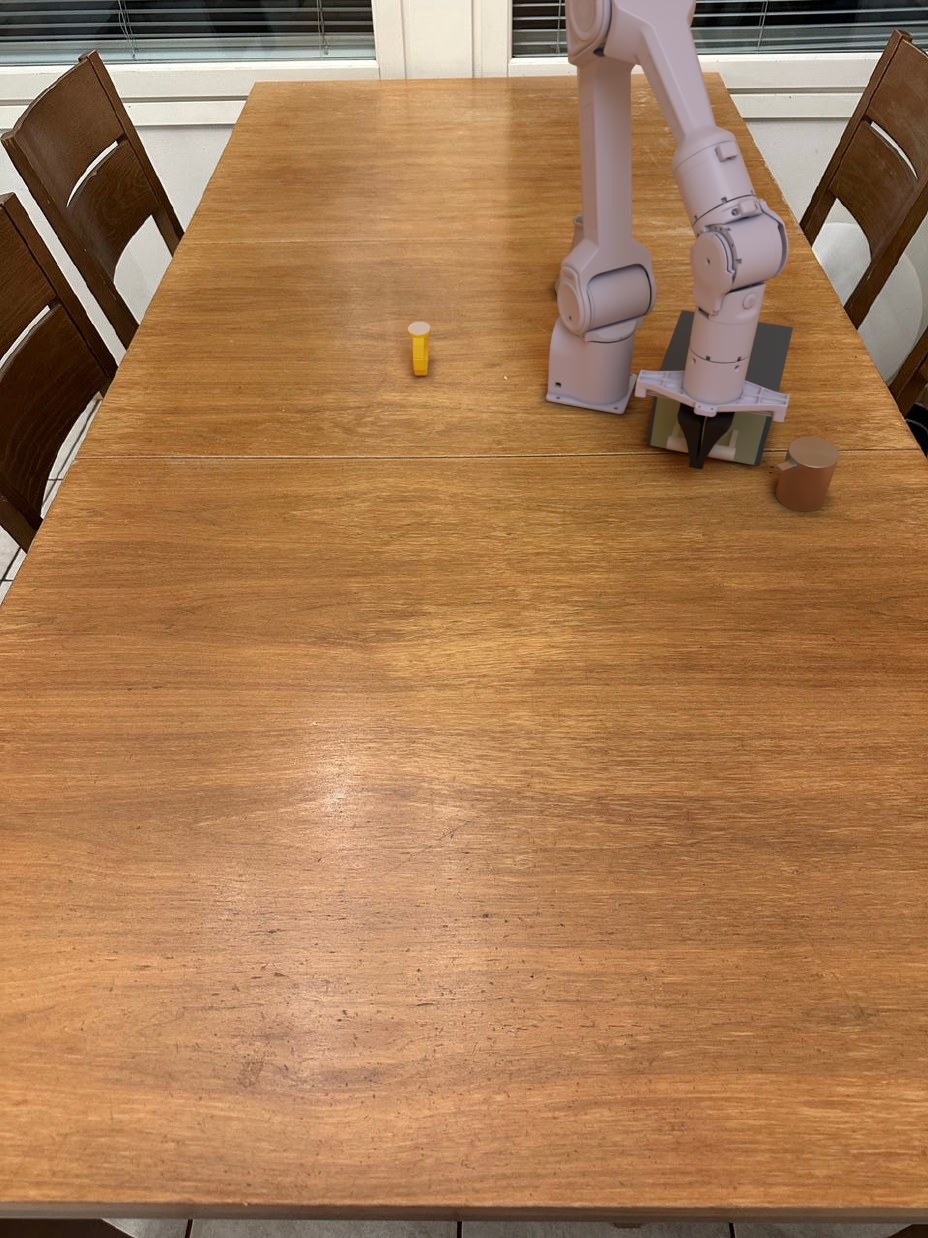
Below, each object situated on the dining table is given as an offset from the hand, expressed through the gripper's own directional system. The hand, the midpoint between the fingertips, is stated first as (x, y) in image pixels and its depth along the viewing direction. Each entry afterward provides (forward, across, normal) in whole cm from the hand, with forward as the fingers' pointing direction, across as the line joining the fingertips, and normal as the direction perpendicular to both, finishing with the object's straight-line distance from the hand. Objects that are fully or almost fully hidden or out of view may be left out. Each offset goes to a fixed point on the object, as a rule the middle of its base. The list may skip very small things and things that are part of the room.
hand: (697, 463), depth 98 cm
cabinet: (+4, 0, +14) cm, 14 cm away
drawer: (+3, 0, +10) cm, 10 cm away
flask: (+3, -22, +37) cm, 43 cm away
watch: (+4, -36, +13) cm, 39 cm away
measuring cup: (+4, +11, +3) cm, 12 cm away
